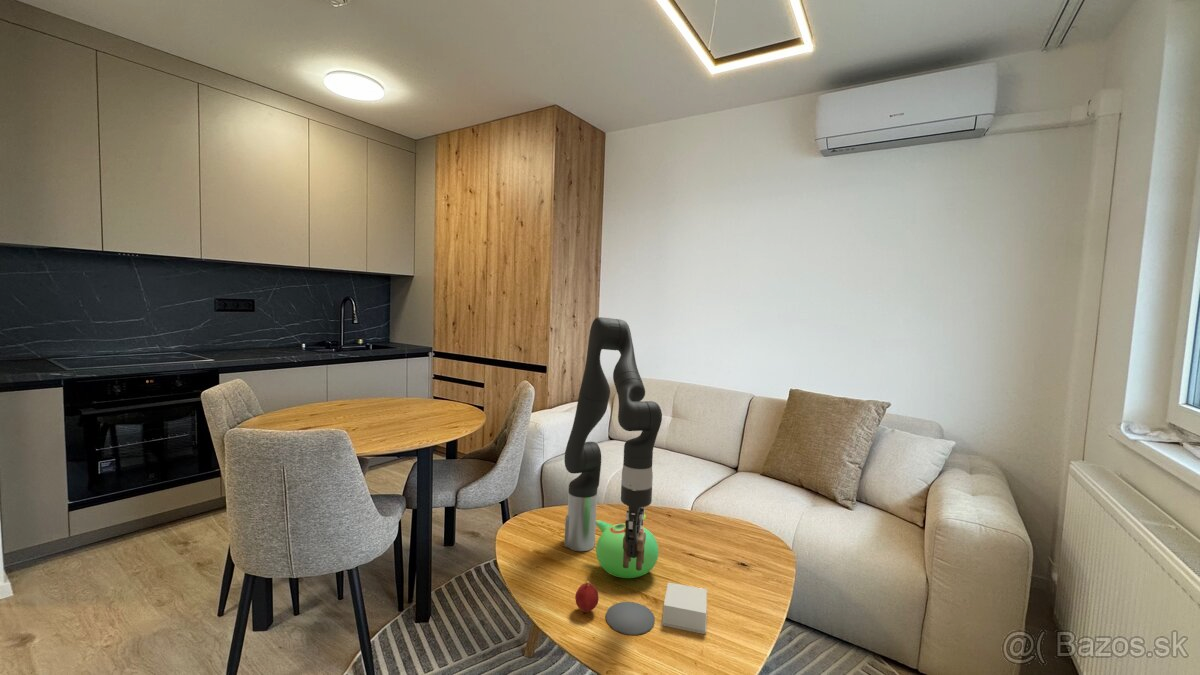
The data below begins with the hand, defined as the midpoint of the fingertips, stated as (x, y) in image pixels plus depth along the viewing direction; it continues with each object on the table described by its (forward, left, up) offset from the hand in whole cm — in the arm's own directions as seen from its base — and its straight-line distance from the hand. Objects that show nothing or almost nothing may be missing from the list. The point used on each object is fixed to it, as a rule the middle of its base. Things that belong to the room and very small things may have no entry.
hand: (633, 551), depth 113 cm
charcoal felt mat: (0, 0, -17) cm, 17 cm away
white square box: (+13, +5, -17) cm, 22 cm away
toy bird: (-5, +20, -17) cm, 27 cm away
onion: (-11, -1, -17) cm, 20 cm away
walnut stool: (0, 0, -3) cm, 3 cm away
